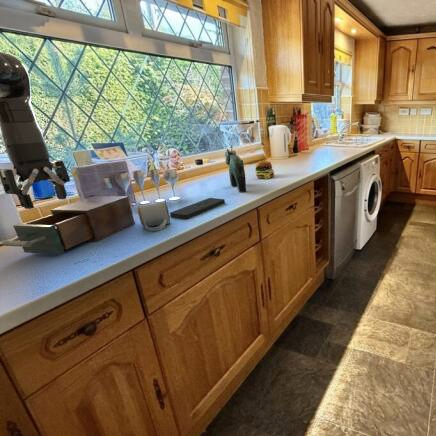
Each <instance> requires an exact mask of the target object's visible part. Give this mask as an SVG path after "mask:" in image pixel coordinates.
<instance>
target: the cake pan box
mask: <svg viewBox="0 0 436 436" xmlns="http://www.w3.org/2000/svg"><path fill="white" fill-rule="evenodd" d="M69 169H70V172H71V176H72V178H73V183H74V186H75V189H76V191H77V192H76V193H77V195H78V198H79V201H80V200H83V199H86V198H90V197H93V196H126V195H125V192H124V191H123V190H122V189H121V188H120V187H119V186H118V185H117V184H116V182H115V180H114V174H121V172H128V174H129V177H130V184H129V186H128V188H127V196H128V199H129V203H136V202H137V199H136V195H135V191H134V187H133V183H132V180H131V175H130V170H129V166H128V162H127V160H126V159H125V160H115V161H107V162H98V163H93V164H85V165H77V166H71V167H69ZM109 177H110V178H111V180H112V182H113V186H112V188H110V189H108V188H106V187H105V185H104V182H103V179H104V178H109Z"/></svg>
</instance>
